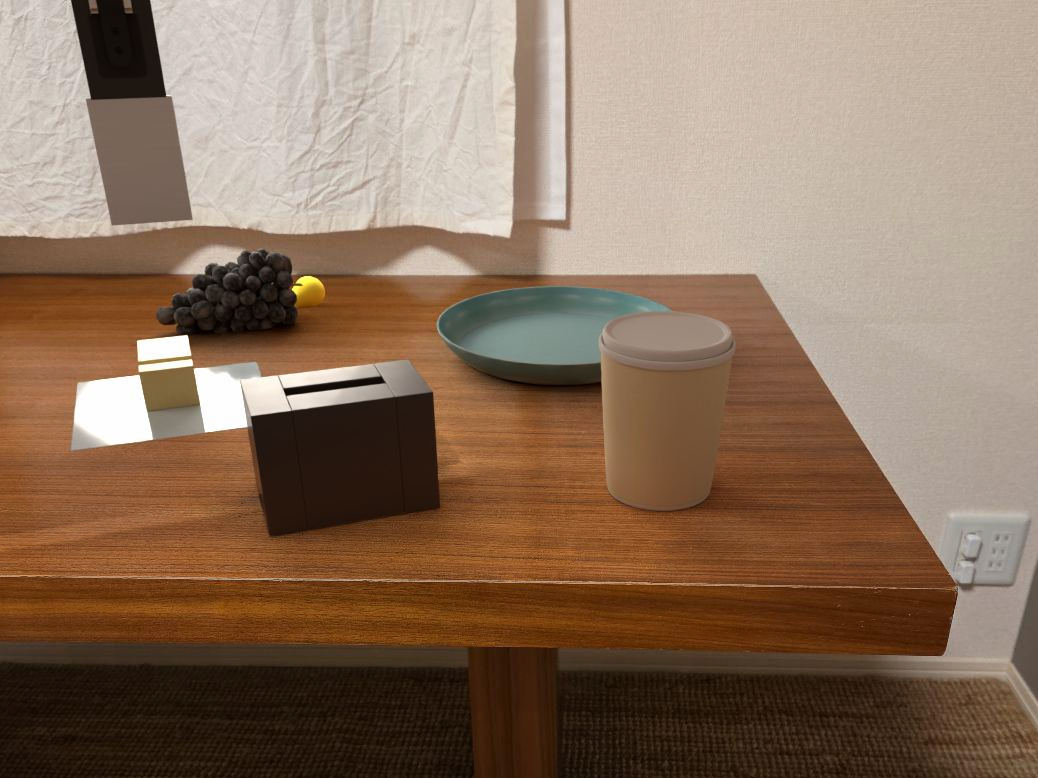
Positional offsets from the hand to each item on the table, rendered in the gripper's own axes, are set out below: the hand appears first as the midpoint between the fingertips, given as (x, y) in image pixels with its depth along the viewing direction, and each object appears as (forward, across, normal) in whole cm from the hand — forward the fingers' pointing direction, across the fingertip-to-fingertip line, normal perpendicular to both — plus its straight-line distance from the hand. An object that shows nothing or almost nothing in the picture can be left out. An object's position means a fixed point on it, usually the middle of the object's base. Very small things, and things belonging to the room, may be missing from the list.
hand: (124, 73), depth 73 cm
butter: (+26, -6, -1) cm, 27 cm away
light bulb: (+27, -29, +14) cm, 42 cm away
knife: (+11, 0, 0) cm, 11 cm away
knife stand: (+27, +20, +10) cm, 35 cm away
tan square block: (+26, -1, -1) cm, 26 cm away
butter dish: (+27, -2, -1) cm, 27 cm away
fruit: (+27, -23, +6) cm, 36 cm away
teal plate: (+27, -5, +36) cm, 45 cm away
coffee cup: (+27, +26, +32) cm, 50 cm away
